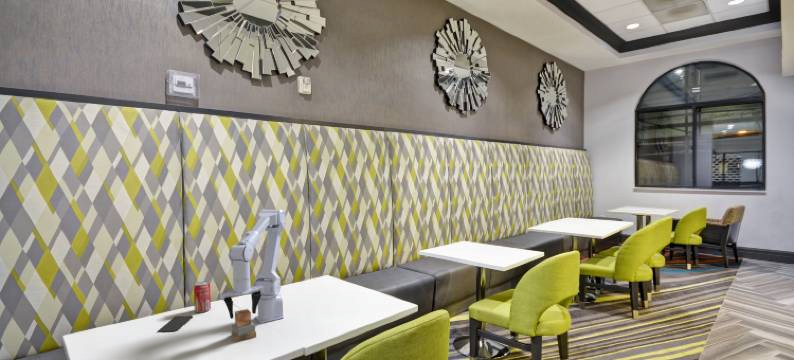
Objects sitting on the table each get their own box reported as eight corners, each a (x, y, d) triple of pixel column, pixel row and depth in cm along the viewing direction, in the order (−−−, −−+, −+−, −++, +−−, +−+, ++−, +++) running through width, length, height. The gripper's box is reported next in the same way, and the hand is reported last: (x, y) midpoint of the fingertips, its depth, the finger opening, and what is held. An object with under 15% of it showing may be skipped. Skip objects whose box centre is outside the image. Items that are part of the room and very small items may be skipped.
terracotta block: (247, 320, 146) (247, 308, 146) (251, 324, 143) (250, 312, 142) (235, 323, 144) (234, 311, 143) (238, 327, 140) (237, 315, 140)
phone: (156, 331, 148) (175, 316, 163) (156, 333, 148) (175, 318, 163) (176, 330, 148) (193, 315, 163) (176, 332, 148) (194, 317, 163)
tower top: (248, 326, 147) (248, 319, 147) (255, 330, 143) (255, 324, 143) (232, 330, 143) (231, 324, 143) (238, 336, 139) (238, 329, 139)
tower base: (251, 331, 148) (251, 325, 148) (256, 338, 142) (256, 331, 142) (231, 336, 144) (231, 330, 144) (235, 343, 138) (235, 336, 138)
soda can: (200, 314, 166) (199, 285, 165) (191, 311, 169) (190, 283, 169) (214, 309, 171) (213, 282, 171) (205, 306, 174) (204, 280, 174)
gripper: (222, 284, 135) (223, 323, 135) (265, 277, 143) (266, 314, 144) (218, 279, 141) (219, 317, 141) (259, 272, 149) (261, 308, 149)
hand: (242, 315), depth 143 cm, fingers open, 7 cm apart
